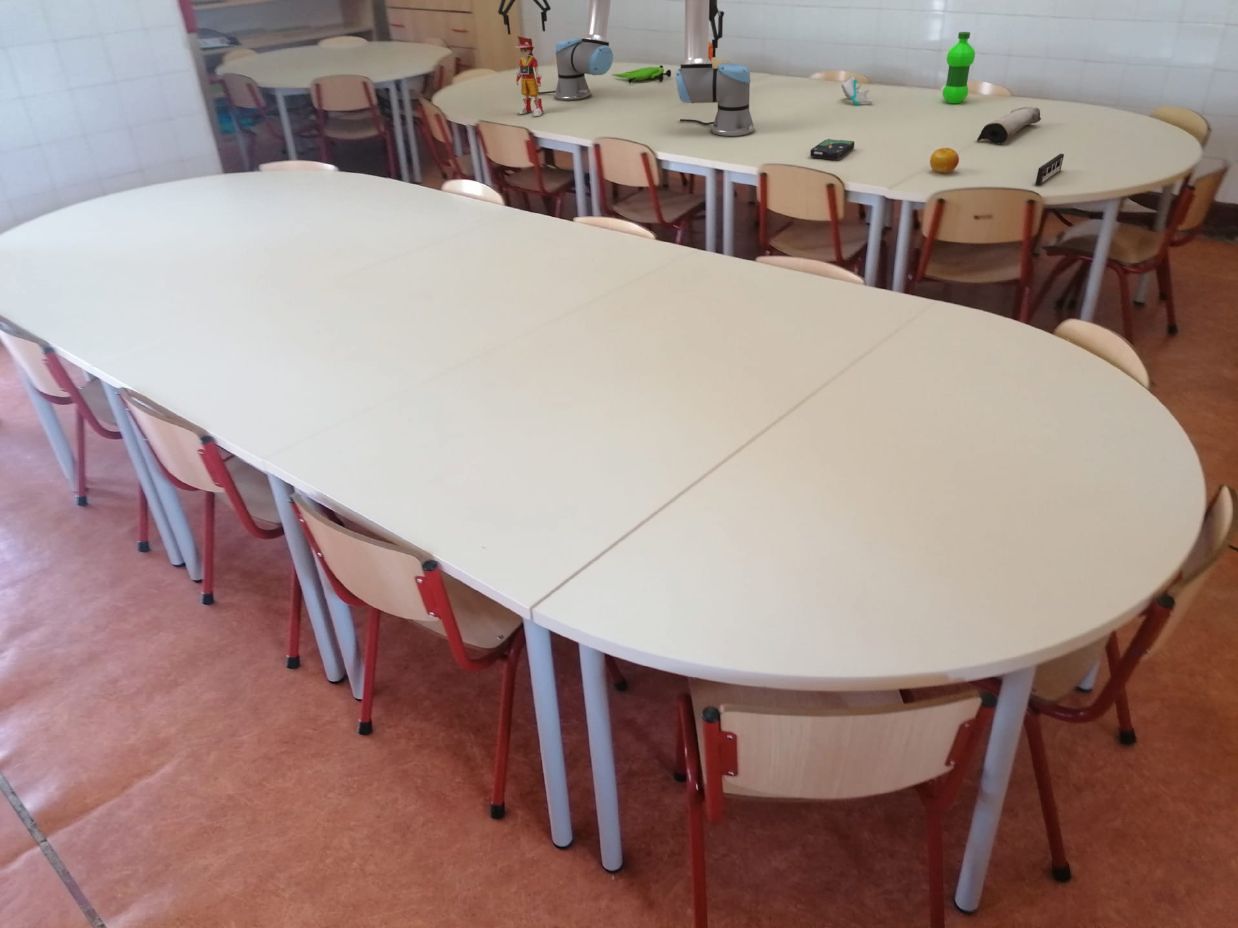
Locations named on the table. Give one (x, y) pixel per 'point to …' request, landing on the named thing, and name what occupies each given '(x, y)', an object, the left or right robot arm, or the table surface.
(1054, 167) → the midi keyboard
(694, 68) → the right robot arm
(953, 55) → the plastic bottle
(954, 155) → the fruit
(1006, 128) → the rolled mat
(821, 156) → the disk drive
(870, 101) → the anatomical model
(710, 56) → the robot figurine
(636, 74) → the toy
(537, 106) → the toy
